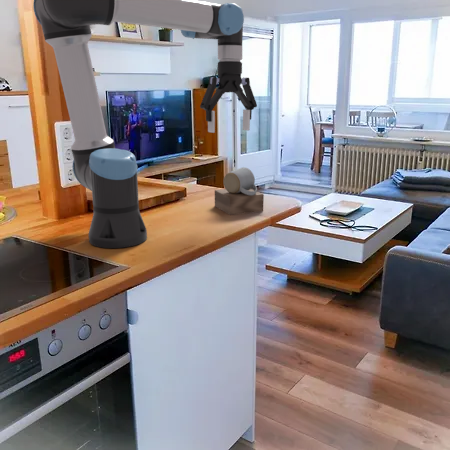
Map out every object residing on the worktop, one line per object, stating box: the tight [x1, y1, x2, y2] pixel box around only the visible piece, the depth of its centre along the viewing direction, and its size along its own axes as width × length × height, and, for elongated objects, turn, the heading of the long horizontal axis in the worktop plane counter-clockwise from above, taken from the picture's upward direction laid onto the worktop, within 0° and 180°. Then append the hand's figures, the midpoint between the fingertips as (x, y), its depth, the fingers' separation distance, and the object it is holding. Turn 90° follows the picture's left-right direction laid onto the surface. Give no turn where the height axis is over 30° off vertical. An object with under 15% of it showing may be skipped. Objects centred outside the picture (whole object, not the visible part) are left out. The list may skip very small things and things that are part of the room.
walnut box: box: [214, 188, 265, 216], centre depth 158 cm, size 12×12×6 cm
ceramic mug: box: [223, 166, 258, 195], centre depth 155 cm, size 11×8×8 cm
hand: (229, 131), depth 153 cm, fingers open, 13 cm apart
